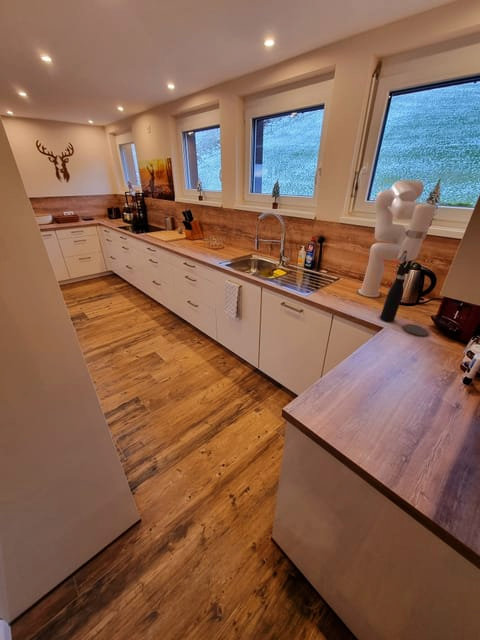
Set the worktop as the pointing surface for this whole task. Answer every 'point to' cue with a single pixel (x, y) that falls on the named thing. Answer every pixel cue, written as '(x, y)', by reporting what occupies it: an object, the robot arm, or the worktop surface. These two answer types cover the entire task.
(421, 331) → the slate coaster
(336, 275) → the worktop surface
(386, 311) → the black bottle
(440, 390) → the worktop surface
